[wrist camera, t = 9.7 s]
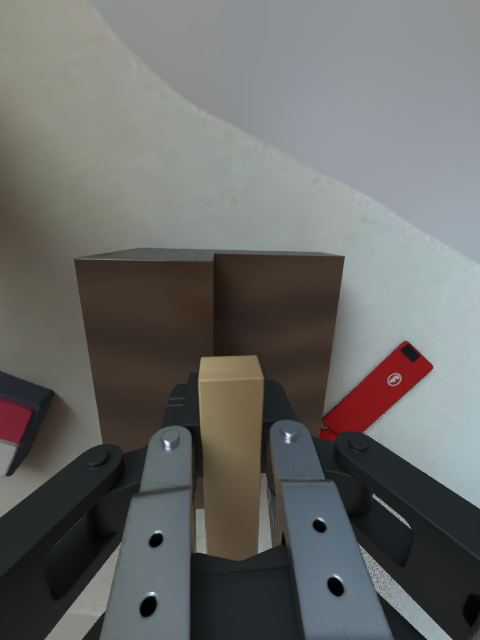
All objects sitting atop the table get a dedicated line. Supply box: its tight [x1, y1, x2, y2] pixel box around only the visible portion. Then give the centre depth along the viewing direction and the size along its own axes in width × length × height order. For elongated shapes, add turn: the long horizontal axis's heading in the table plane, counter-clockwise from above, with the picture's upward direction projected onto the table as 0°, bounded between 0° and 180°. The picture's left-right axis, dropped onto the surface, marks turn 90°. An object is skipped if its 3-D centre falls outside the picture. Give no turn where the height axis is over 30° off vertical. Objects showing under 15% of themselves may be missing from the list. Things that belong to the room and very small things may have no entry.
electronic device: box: [322, 341, 433, 434], centre depth 35 cm, size 6×1×15 cm
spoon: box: [198, 355, 264, 561], centre depth 11 cm, size 6×16×2 cm, turn 0°
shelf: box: [74, 248, 345, 509], centre depth 25 cm, size 20×20×13 cm
